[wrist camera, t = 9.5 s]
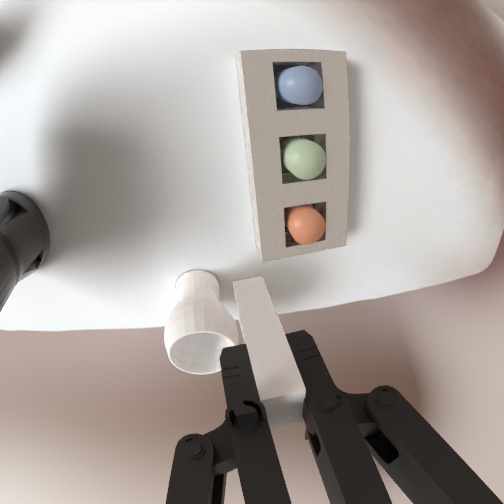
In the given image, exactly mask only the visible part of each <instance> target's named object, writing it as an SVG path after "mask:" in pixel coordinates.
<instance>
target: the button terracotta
mask: <svg viewBox="0 0 504 504" xmlns="http://www.w3.org/2000/svg"><path fill="white" fill-rule="evenodd" d="M284 222H285V226H286V227H287V229H288V230H289V232H290V233H291V235H292V236H293V238H294V239H295V241H297V242H298V243H300V244H303V245H308V244H312V243H314V242H316V241H318V240H319V239H320V238H321V237H322V235H323V234H324V231H325V227H326V224H325V220H324V218H323V217H322V216H321V215H320V214H319V213H318V212H317V211H316V209H315V208H314V207H313V206H312V205H311V204H306V205H299V206H292V207H286V208H284Z"/></svg>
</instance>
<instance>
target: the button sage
mask: <svg viewBox="0 0 504 504" xmlns="http://www.w3.org/2000/svg"><path fill="white" fill-rule="evenodd" d="M280 156H281V164H282V165H283V166H284V167H285V168H287V169H288V170H289V171H290V172H291V173H292V174H294V175H295V176H296V177H298V178H300V179H303V180H309V179H313V178H315V177H317V176H318V175H319V174H320V173H321V172H322V171H323V169H324V167H325V164H326V155H325V152H324V150H323V149H322V147H321V146H320V145H318V144H317V143H314V142H312V141H310V140H308V139H306V138H303V137H301V136H290V137H288V138H286V139H285V140H284V141H283V142H282V143H281V144H280Z"/></svg>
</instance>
